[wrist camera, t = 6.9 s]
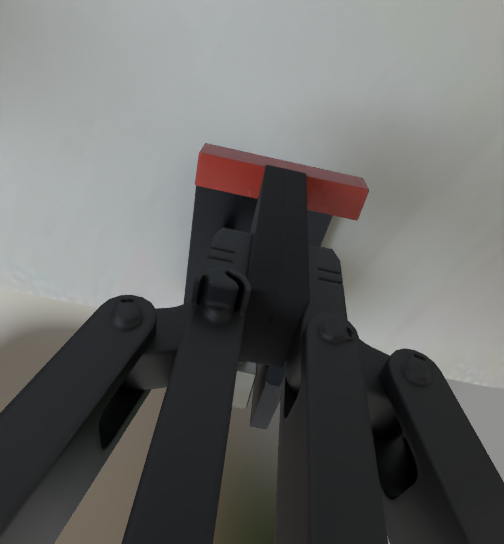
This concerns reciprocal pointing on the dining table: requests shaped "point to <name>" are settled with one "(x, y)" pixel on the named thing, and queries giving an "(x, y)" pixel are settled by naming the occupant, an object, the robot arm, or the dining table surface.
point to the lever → (247, 182)
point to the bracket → (206, 222)
